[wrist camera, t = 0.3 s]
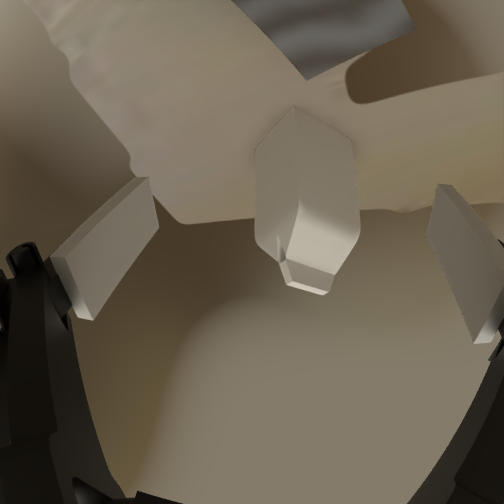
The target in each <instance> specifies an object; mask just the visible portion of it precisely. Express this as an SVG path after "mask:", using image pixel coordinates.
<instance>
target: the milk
mask: <svg viewBox="0 0 504 504" xmlns="http://www.w3.org/2000/svg"><path fill="white" fill-rule="evenodd" d="M359 235H360V214H359V202H358V191H357V182H356V173H355V164H354V156H353V148H352V141H351V140H350V139H349V138H347V137H346V136H344V135H342V134H341V133H339V132H338V131H336V130H334V129H333V128H331V127H329V126H328V125H326V124H324V123H323V122H321V121H319V120H318V119H316V118H314V117H313V116H311V115H309V114H307V113H306V112H304V111H302V110H300V109H299V108H297V107H295V106H293V107H292V108H291V109H290V110H289V111H288V112H287V113H286V115H285V116H284V117H283V118H282V119H281V120H280V121H279V123H278V124H277V125H276V126H275V127H274V128H273V129H272V131H271V132H270V133H269V134H268V135H267V136H266V137H265V139H264V140H263V141H262V142H261V143H260V144H259V146H258V147H257V148H256V149H255V240H256V242H257V244H258V246H260V248H262V249H263V250H264V251H265V252H267V253H268V254H269V255H270V256H272V257H273V258H274V259H275V260H276V261H278V262H279V265H280V268H281V270H282V274H283V277H284V280H285V283H286V285H289V286H292V287H296V288H299V289H303V290H306V291H309V292H313V293H316V294H320V295H324V294H326V293H328V292H329V291H330V288H331V285H332V282H333V279H334V275H335V274H336V273H337V271H338V270H339V268H340V267H341V265H342V264H343V262H344V261H345V259H346V258H347V256H348V254H349V253H350V252H351V250H352V248H353V247H354V245H355V244H356V242H357V240H358V237H359Z"/></svg>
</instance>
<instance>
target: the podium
mask: <svg viewBox="0 0 504 504" xmlns="http://www.w3.org/2000/svg"><path fill="white" fill-rule="evenodd" d="M231 1H232V2H233V3H235V4H236V5H237V6H238V7H239V8H240V9H241V10H242V11H243V12H244V13H245V14H246V15H247V16H248V17H249V18H250V19H251V20H252V21H253V22H254V23H255V24H256V25H257V26H258V27H259V28H260V29H261V30H262V31H263V32H264V33H265V34H266V35H267V36H268V38H269V39H270V40H271V41H272V42H273V43H274V44H275V45H276V46H277V47H278V48H279V49H280V51H281V52H282V53H283V54H284V55H285V56H286V57H287V58H288V59H289V61H290V62H291V63H292V64H293V65H294V66H295V68H296V69H297V70H298V71H299V72H300V73H301V75H302V76H303V77H304V78H305V79H306V81H307V80H309V79H311V78H313V77H315V76H317V75H319V74H321V73H323V72H325V71H327V70H329V69H331V68H333V67H335V66H337V65H339V64H341V63H343V62H345V61H347V60H349V59H351V58H353V57H355V56H357V55H359V54H362V53H364V52H366V51H368V50H370V49H373V48H375V47H377V46H379V45H381V44H384V43H386V42H389V41H391V40H393V39H396V38H398V37H401V36H403V35H406V34H408V33H411V32H413V31H416V30H417V29H416V27H415V25H414V23H413V21H412V19H411V17H410V15H409V13H408V12H407V10H406V8H405V6H404V4H403V3H402V1H401V0H231Z"/></svg>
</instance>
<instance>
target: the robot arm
mask: <svg viewBox="0 0 504 504" xmlns="http://www.w3.org/2000/svg"><path fill="white" fill-rule="evenodd" d="M158 228H159V224H158V220H157V215H156V210H155V206H154V201H153V196H152V191H151V186H150V181H149V177H136V178H134V179H133V180H131V181H130V182H129V183H128V184H127V185H126V186H124V187H123V188H122V189H121V190H120V191H119V192H117V193H116V194H115V195H114V196H113V197H112V198H110V199H109V200H108V201H107V202H106V203H105V204H104V205H103V206H101V207H100V208H99V209H98V210H97V211H96V212H95V213H94V214H93V215H92V216H90V217H89V218H88V219H87V220H86V221H85V222H84V223H83V224H82V225H81V226H80V227H79V228H78V229H77V230H76V231H74V232H73V233H72V234H71V235H70V236H69V237H68V238H67V239H66V240H65V241H64V242H63V243H62V244H61V245H60V246H59V247H58V248H57V249H56V250H55V251H54V252H53V253H52V254H51V255H50V256H49V257H48V258H47V259H46V260H45V261H44V262H43V261H42V258H41V256H40V254H39V251H38V249H37V247H36V244H35V243H34V242H27V243H23V244H21V245H19V246H17V247H15V248H14V249H13V250H11V251H10V252H9V254H8V255H7V256H6V261H7V263H8V265H9V267H10V269H11V271H12V273H13V275H14V277H15V278H12V279H7V278H6V276H5V274H4V272H3V270H2V269H0V325H1V329H0V504H182V503H178V502H174V501H170V500H167V499H163V498H160V497H156V496H153V495H150V494H146V493H143V492H140V491H137V493H136V496H135V498H126V497H125V495H124V493H123V491H122V490H121V488H120V486H119V485H118V484H117V482H116V481H115V480H114V478H113V477H112V475H111V473H110V471H109V469H108V466H107V464H106V461H105V458H104V455H103V452H102V449H101V446H100V443H99V440H98V437H97V434H96V430H95V427H94V424H93V420H92V417H91V413H90V409H89V406H88V402H87V398H86V394H85V390H84V386H83V381H82V377H81V372H80V368H79V363H78V358H77V353H76V347H75V342H74V336H73V330H72V323H71V319H70V317H69V314H68V313H67V312H68V310H69V309H70V308H71V306H73V308H74V310H75V312H76V314H77V316H78V318H84V319H89V320H94V318H95V317H96V315H97V314H98V313H99V311H100V310H101V308H102V307H103V305H104V304H105V302H106V300H107V299H108V298H109V296H110V295H111V293H112V292H113V290H114V289H115V287H116V286H117V284H118V283H119V282H120V280H121V279H122V277H123V276H124V275H125V273H126V272H127V270H128V269H129V268H130V266H131V265H132V263H133V262H134V261H135V259H136V258H137V257H138V255H139V254H140V252H141V251H142V250H143V248H144V247H145V246H146V244H147V243H148V242H149V240H150V239H151V238H152V236H153V235H154V233H155V232H156V231H157V230H158ZM426 238H427V239H428V241H429V243H430V245H431V247H432V249H433V251H434V253H435V255H436V257H437V259H438V261H439V263H440V265H441V267H442V270H443V272H444V274H445V276H446V278H447V280H448V282H449V285H450V287H451V289H452V291H453V294H454V296H455V298H456V301H457V303H458V305H459V308H460V310H461V312H462V315H463V317H464V320H465V322H466V325H467V328H468V330H469V333H470V336H471V338H472V341H473V344H476V343H488V342H491V341H492V339H493V337H494V336H495V334H496V332H497V330H499V332H500V334H501V337H502V339H501V340H500V342H499V343H498V345H497V347H496V348H495V350H494V351H493V353H492V355H491V356H490V358H489V359H488V360H489V361H491V362H490V365H489V367H488V370H487V372H486V374H485V376H484V379H483V381H482V383H481V385H480V387H479V390H478V391H477V394H476V396H475V398H474V400H473V402H472V404H471V406H470V408H469V409H468V411H467V413H466V415H465V417H464V419H463V421H462V422H461V424H460V426H459V428H458V430H457V432H456V433H455V435H454V436H453V438H452V440H451V441H450V443H449V445H448V446H447V448H446V450H445V451H444V453H443V454H442V456H441V458H440V459H439V461H438V462H437V464H436V465H435V467H434V468H433V469H432V471H431V472H430V474H429V475H428V477H427V478H426V479H425V481H424V482H423V484H422V485H421V487H420V488H419V489H418V490H417V492H416V493H415V494H414V496H413V497H412V498H411V500H410V501H409V502H408V503H407V504H504V243H502V242H501V241H500V240H498V239H497V238H496V237H495V236H494V235H493V233H492V232H491V231H490V229H489V228H488V227H487V226H486V224H485V223H484V222H483V221H482V219H481V218H480V217H479V216H478V215H477V214H476V212H475V211H474V210H473V209H472V208H471V206H470V205H469V204H468V203H467V202H466V201H465V199H464V198H463V197H462V196H461V195H460V194H459V193H458V192H457V190H456V189H455V188H454V187H453V186H452V185H446V184H437V188H436V193H435V198H434V203H433V208H432V213H431V218H430V222H429V227H428V232H427V235H426Z"/></svg>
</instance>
